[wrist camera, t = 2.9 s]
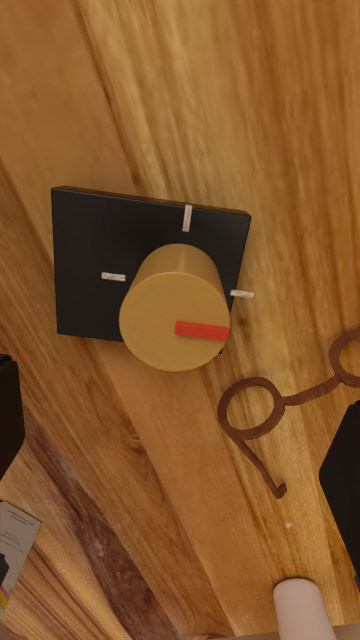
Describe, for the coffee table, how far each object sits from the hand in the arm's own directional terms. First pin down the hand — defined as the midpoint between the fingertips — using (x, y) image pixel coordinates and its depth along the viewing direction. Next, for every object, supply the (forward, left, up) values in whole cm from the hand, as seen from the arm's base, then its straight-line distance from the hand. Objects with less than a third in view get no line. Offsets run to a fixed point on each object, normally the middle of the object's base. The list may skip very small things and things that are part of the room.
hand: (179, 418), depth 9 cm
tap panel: (-2, 0, -13) cm, 14 cm away
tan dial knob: (0, 0, -11) cm, 11 cm away
